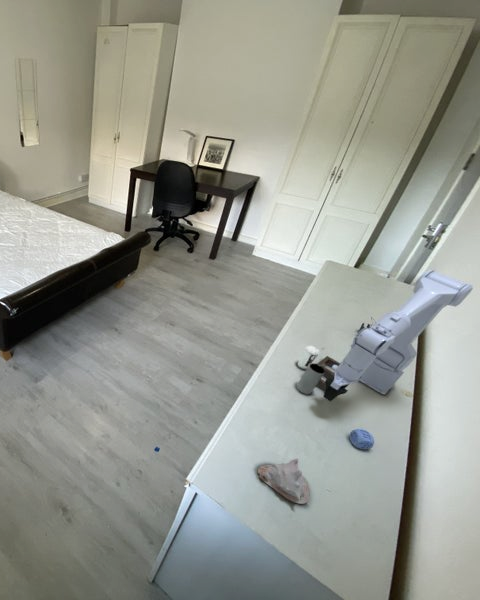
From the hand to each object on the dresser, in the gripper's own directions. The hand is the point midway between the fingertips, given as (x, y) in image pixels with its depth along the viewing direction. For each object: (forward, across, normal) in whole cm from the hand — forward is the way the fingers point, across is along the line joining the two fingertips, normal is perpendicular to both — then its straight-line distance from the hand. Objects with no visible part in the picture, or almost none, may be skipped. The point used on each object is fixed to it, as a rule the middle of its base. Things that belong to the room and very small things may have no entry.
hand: (332, 393), depth 103 cm
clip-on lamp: (+5, -57, -5) cm, 57 cm away
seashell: (+5, +38, +6) cm, 39 cm away
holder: (+5, -13, -5) cm, 15 cm away
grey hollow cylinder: (+5, 0, -7) cm, 9 cm away
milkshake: (+5, -11, -12) cm, 17 cm away
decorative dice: (+5, +7, +12) cm, 15 cm away
